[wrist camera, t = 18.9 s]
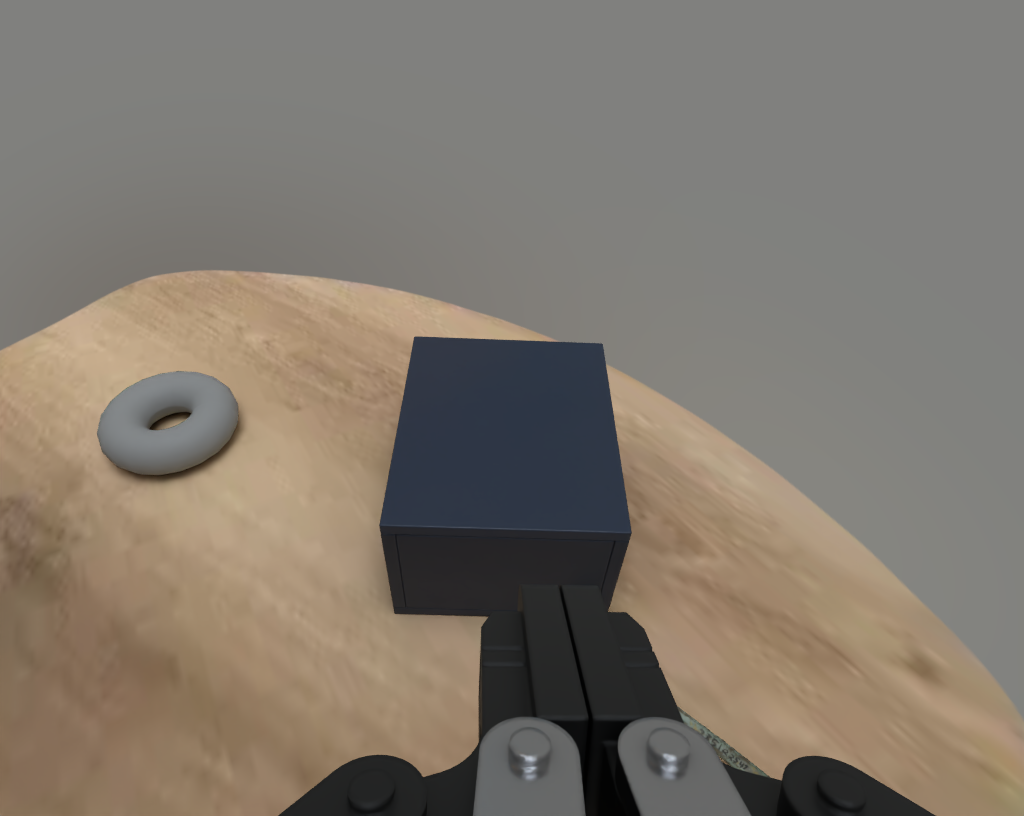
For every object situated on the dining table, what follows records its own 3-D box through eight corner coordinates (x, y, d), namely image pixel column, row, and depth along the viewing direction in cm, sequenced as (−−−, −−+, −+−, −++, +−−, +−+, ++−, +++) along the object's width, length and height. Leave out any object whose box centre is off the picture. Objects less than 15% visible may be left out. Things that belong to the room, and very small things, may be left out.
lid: (414, 344, 46) (414, 336, 46) (601, 351, 47) (602, 343, 46) (380, 534, 35) (379, 525, 34) (629, 541, 35) (632, 533, 34)
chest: (420, 435, 52) (413, 351, 46) (587, 441, 52) (602, 358, 46) (394, 613, 41) (380, 534, 35) (605, 619, 41) (629, 542, 35)
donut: (106, 413, 52) (108, 501, 46) (88, 381, 50) (88, 470, 44) (234, 381, 56) (253, 460, 49) (223, 350, 53) (241, 428, 47)
